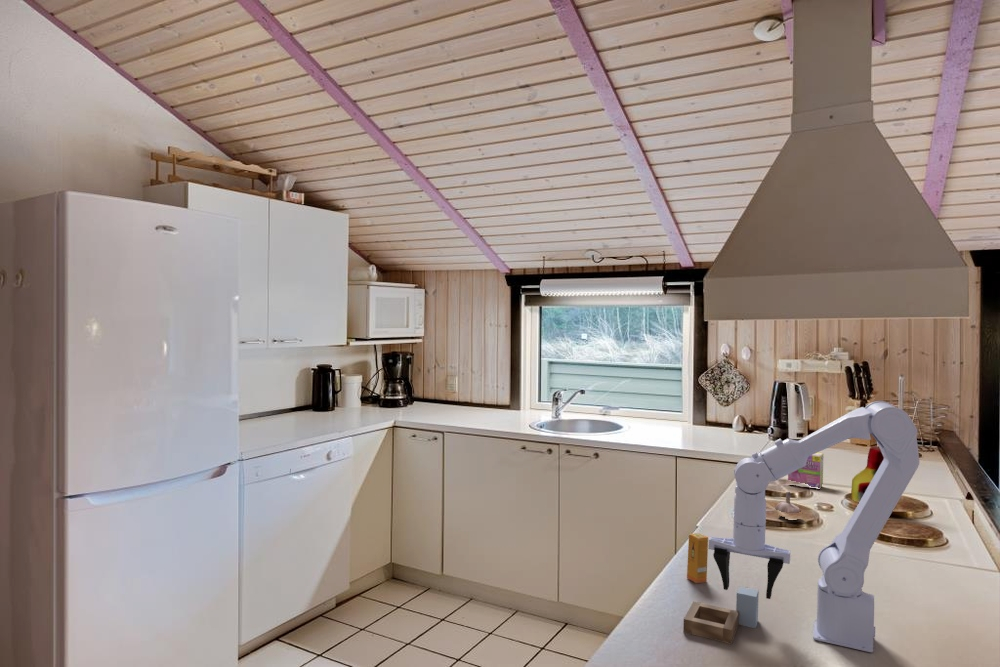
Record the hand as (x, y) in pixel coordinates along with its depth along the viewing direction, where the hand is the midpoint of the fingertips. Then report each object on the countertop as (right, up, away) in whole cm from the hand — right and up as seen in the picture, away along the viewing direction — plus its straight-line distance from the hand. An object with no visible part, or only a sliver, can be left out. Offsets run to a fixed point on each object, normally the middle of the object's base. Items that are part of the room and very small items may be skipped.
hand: (747, 592), depth 125 cm
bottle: (+66, -5, +73) cm, 99 cm away
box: (+59, -4, +102) cm, 118 cm away
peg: (0, -6, 0) cm, 6 cm away
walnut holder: (-8, -6, -3) cm, 10 cm away
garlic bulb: (+37, -5, +65) cm, 75 cm away
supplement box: (-4, -5, +20) cm, 21 cm away
